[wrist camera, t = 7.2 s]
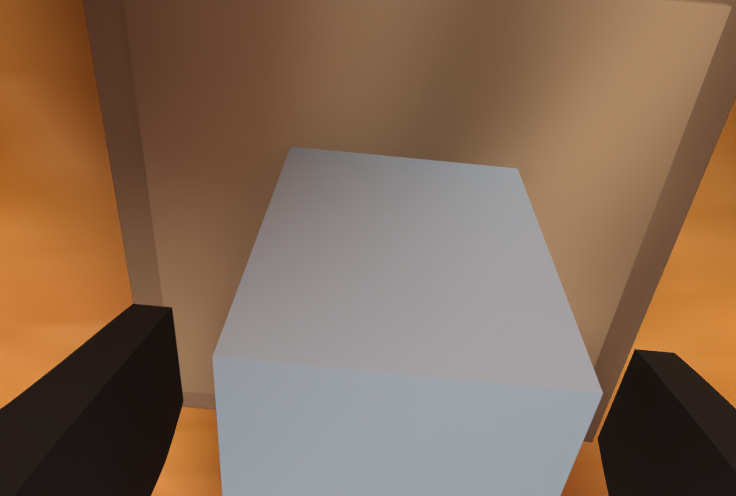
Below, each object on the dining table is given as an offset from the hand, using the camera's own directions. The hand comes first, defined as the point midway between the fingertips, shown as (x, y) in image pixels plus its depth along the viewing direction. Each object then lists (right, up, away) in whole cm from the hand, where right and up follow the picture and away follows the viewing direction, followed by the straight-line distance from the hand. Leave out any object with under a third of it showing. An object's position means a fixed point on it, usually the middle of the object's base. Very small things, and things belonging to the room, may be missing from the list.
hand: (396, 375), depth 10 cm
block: (0, +2, +4) cm, 4 cm away
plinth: (0, +3, +5) cm, 6 cm away
